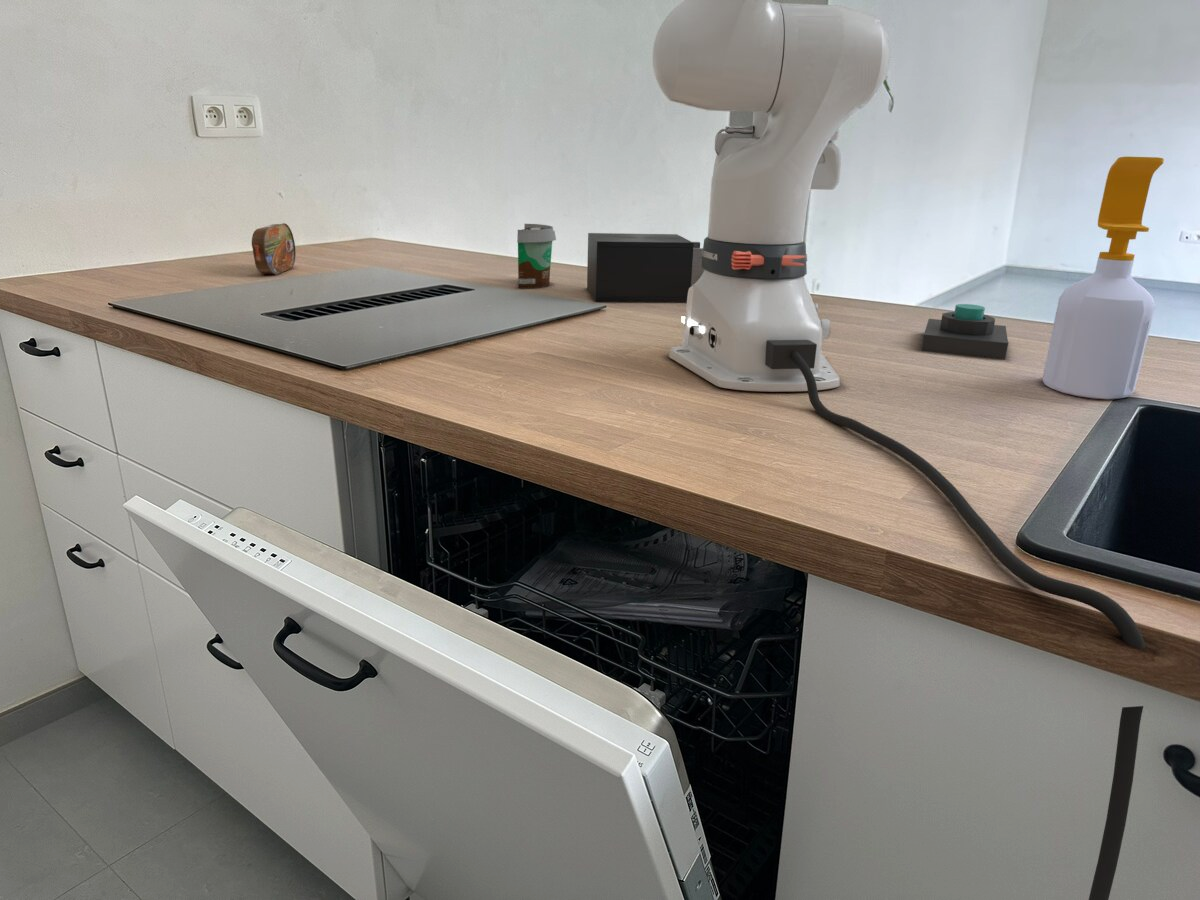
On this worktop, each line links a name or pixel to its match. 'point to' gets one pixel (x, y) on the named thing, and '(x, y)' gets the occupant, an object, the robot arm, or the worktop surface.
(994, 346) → the control block
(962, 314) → the button
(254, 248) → the tin
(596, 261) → the cabinet
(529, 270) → the coffee cup
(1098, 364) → the soap bottle
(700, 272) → the drawer
